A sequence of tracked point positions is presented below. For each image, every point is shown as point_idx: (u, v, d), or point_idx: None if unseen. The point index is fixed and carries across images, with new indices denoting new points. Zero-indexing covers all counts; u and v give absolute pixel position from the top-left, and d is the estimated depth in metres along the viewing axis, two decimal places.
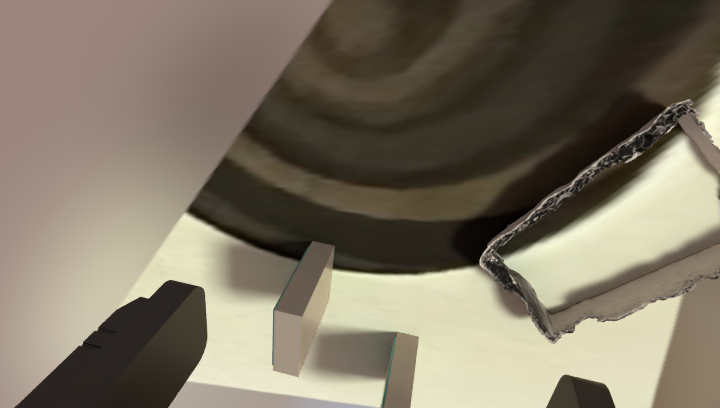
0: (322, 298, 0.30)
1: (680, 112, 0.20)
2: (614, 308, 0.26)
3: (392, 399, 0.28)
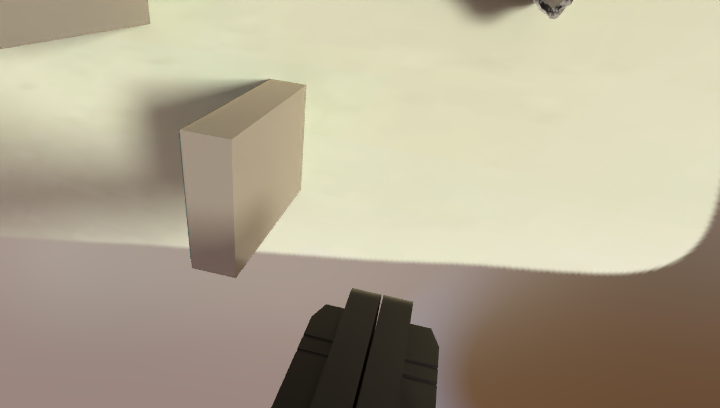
0: None
1: None
2: None
3: (214, 120, 0.14)
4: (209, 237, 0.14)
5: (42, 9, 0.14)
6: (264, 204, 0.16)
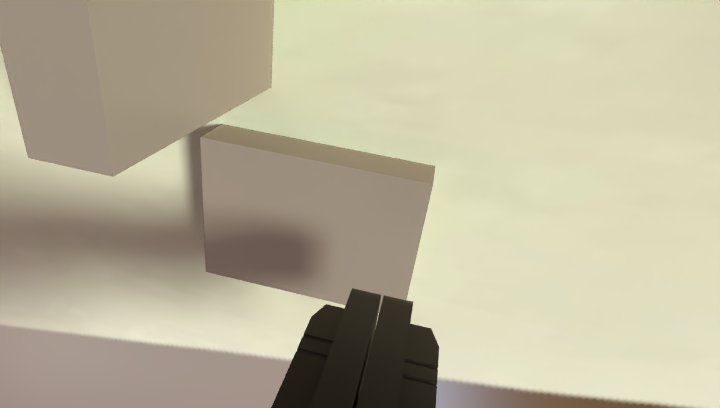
0: (238, 14, 0.10)
1: None
2: None
3: (254, 133, 0.14)
4: None
5: (168, 97, 0.08)
6: (276, 250, 0.14)
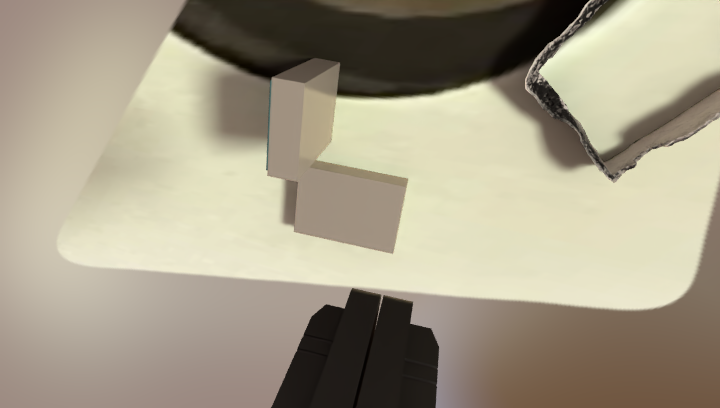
0: (325, 117, 0.26)
1: None
2: (681, 130, 0.23)
3: (322, 162, 0.29)
4: None
5: (308, 154, 0.24)
6: (331, 220, 0.30)
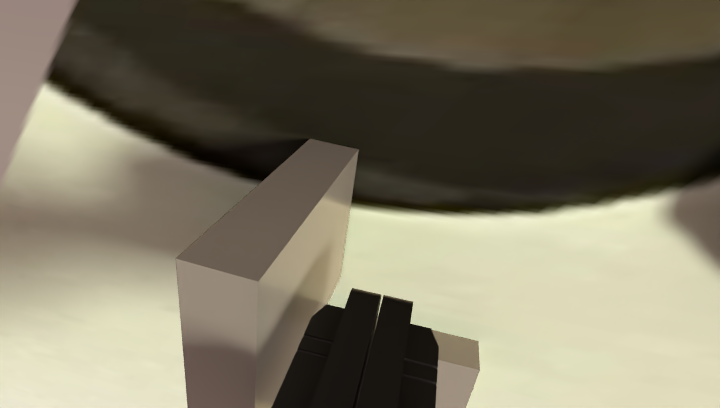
0: (326, 262, 0.13)
1: None
2: None
3: None
4: None
5: (285, 369, 0.11)
6: None
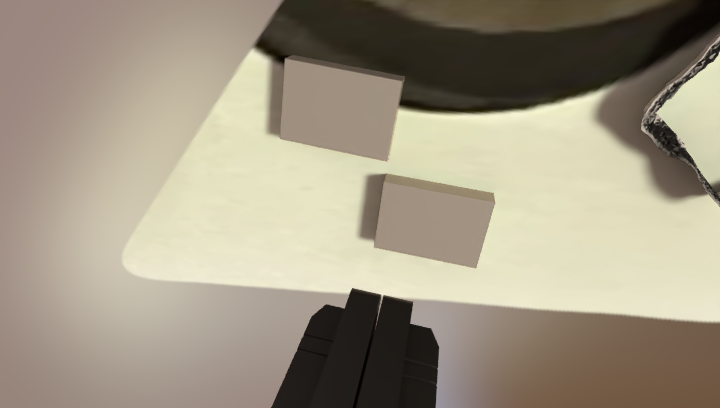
0: (356, 120, 0.27)
1: None
2: None
3: (404, 178, 0.29)
4: None
5: (306, 130, 0.28)
6: (414, 235, 0.29)
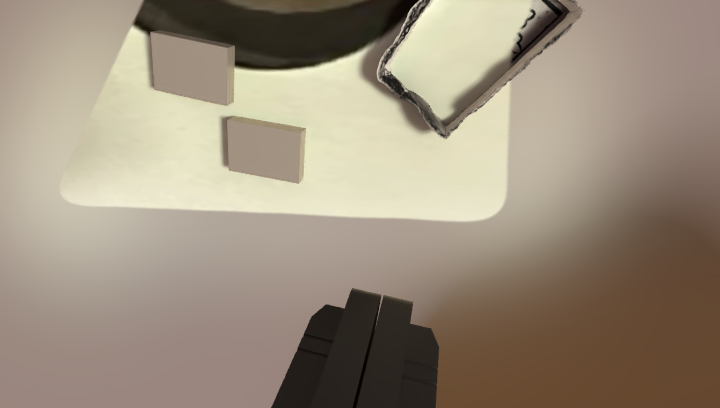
0: (202, 76, 0.39)
1: None
2: (482, 100, 0.35)
3: (245, 118, 0.41)
4: None
5: (171, 83, 0.39)
6: (253, 160, 0.41)
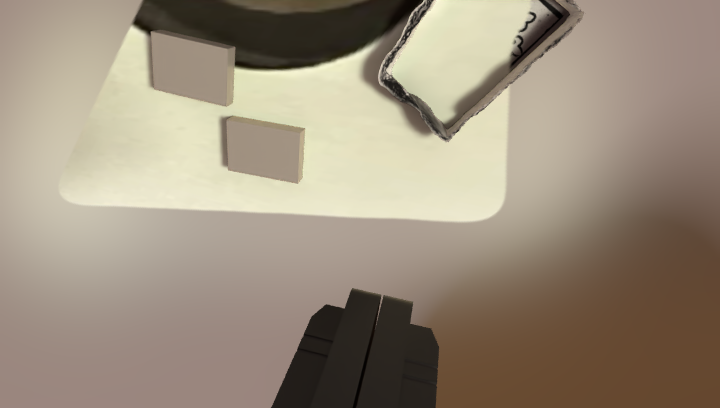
0: (202, 76, 0.39)
1: None
2: (484, 103, 0.35)
3: (244, 118, 0.41)
4: None
5: (170, 83, 0.39)
6: (252, 159, 0.41)
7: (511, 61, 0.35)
